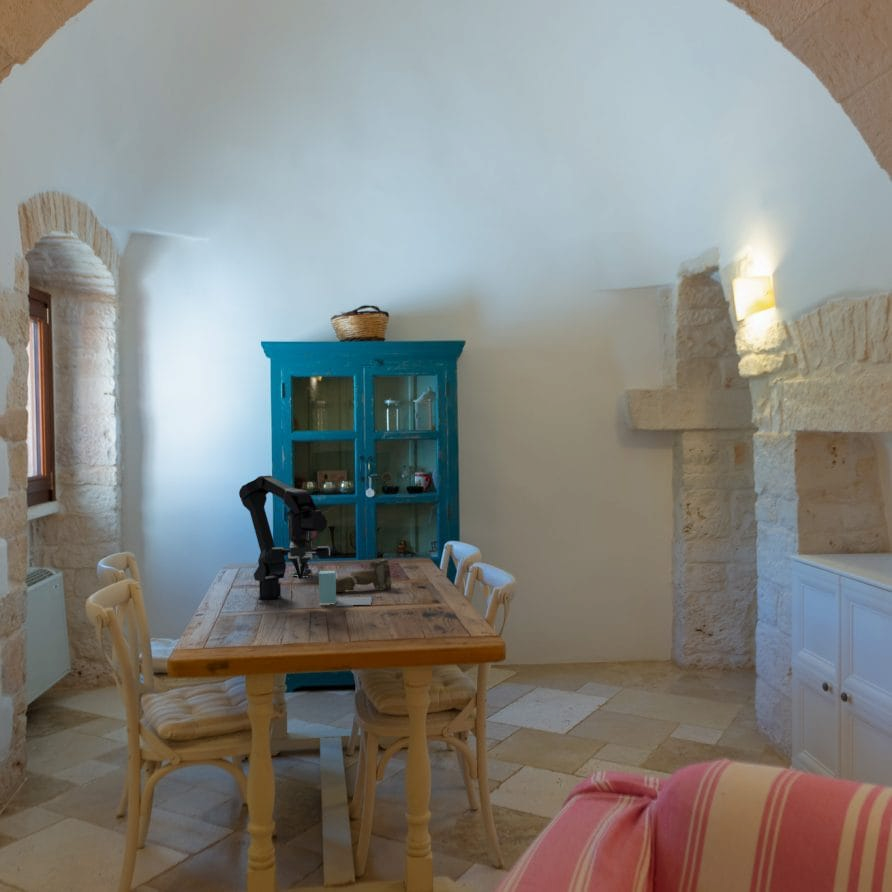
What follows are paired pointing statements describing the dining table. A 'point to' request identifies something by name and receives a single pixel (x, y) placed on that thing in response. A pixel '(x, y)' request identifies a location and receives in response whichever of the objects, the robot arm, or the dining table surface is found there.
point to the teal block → (327, 587)
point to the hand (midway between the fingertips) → (300, 579)
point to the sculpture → (367, 577)
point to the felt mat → (354, 601)
